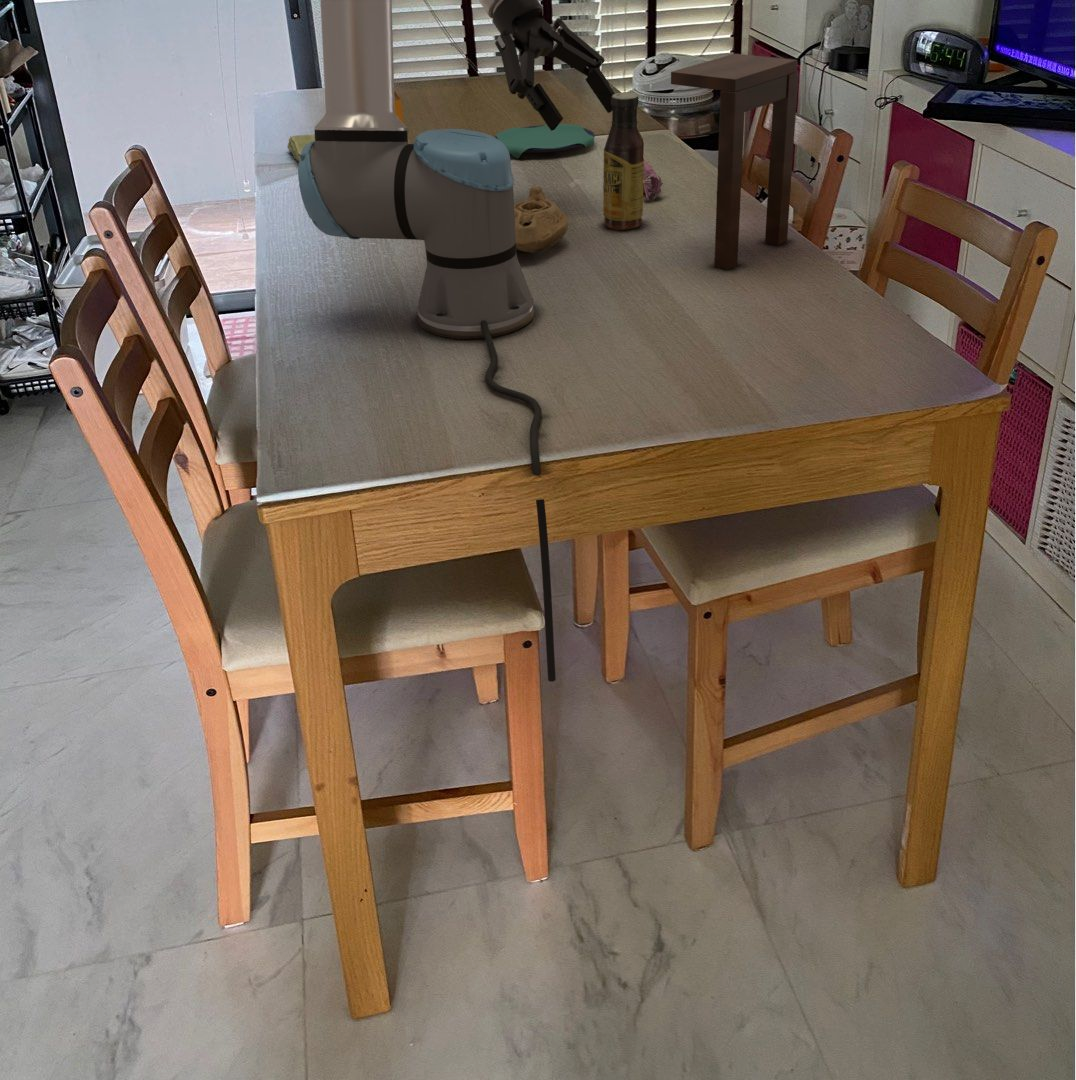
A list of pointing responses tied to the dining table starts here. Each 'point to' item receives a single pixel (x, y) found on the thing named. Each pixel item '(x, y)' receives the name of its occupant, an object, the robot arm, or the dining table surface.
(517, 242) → the oil lamp
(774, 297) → the dining table surface
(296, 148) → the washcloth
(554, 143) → the green pad
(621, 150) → the sauce bottle
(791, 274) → the dining table surface
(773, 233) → the wooden step stool
